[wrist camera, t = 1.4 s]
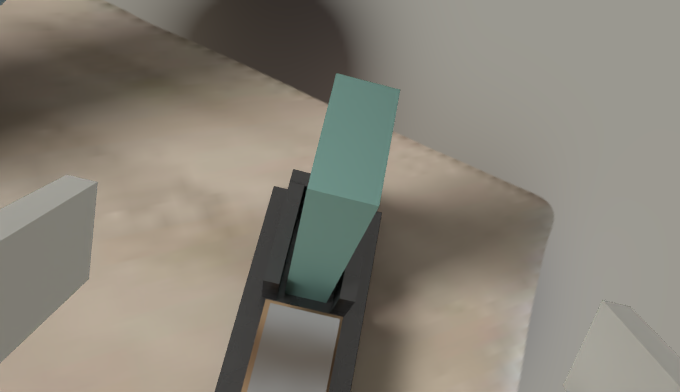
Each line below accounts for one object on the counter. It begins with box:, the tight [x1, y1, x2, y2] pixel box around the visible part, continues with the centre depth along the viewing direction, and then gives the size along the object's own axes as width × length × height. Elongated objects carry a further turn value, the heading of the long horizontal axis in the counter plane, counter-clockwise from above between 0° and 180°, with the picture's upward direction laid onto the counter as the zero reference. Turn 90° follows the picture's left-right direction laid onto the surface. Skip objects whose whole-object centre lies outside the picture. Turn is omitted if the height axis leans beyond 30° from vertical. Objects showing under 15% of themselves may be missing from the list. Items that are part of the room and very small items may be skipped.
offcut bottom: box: [241, 299, 343, 392], centre depth 38 cm, size 8×6×3 cm
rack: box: [215, 169, 382, 392], centre depth 40 cm, size 21×10×6 cm, turn 169°
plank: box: [285, 73, 400, 303], centre depth 35 cm, size 7×4×20 cm, turn 169°
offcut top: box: [247, 303, 340, 392], centre depth 35 cm, size 7×5×3 cm
